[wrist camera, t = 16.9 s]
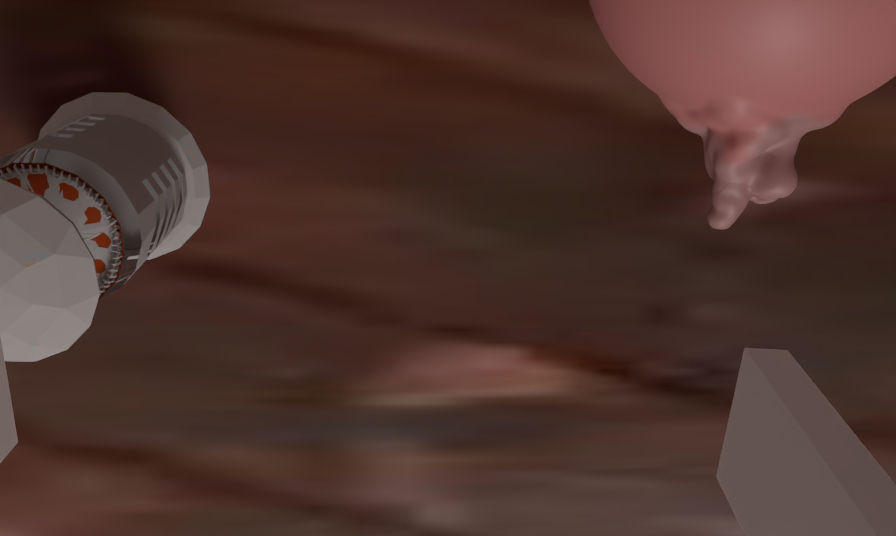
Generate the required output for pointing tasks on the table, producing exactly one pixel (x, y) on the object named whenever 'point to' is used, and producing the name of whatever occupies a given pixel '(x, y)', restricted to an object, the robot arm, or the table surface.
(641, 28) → the balloon
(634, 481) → the table surface
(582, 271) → the table surface
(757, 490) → the robot arm
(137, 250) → the french press
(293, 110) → the table surface
